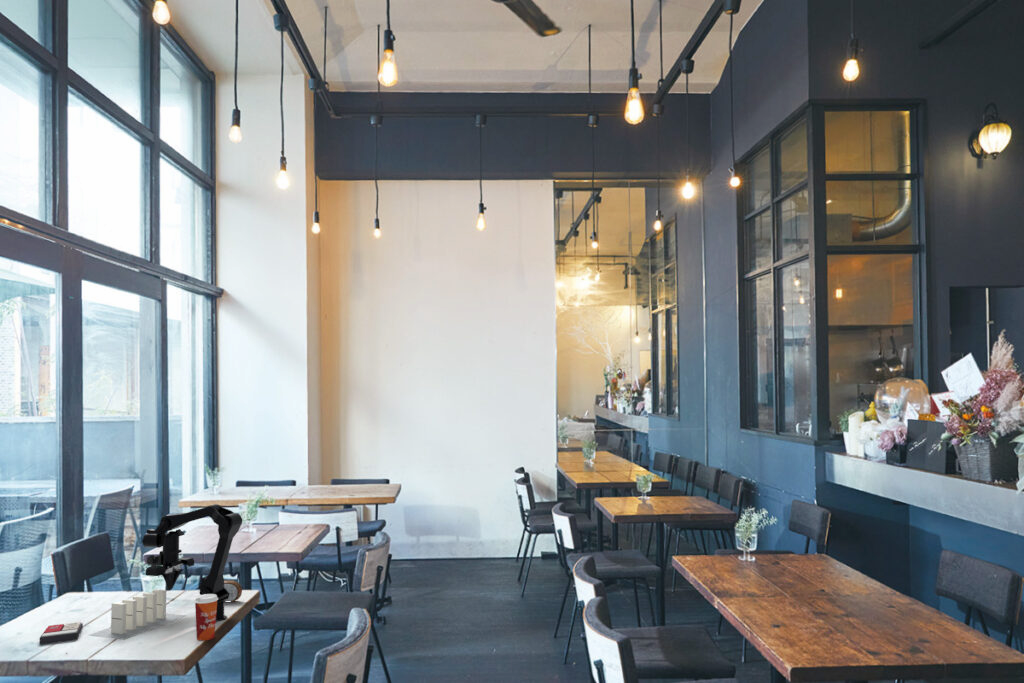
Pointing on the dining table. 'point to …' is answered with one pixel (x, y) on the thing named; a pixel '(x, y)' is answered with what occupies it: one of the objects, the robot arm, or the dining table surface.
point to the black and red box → (61, 633)
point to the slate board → (137, 628)
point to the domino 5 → (161, 603)
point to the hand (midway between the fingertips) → (170, 589)
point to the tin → (233, 590)
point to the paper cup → (206, 616)
